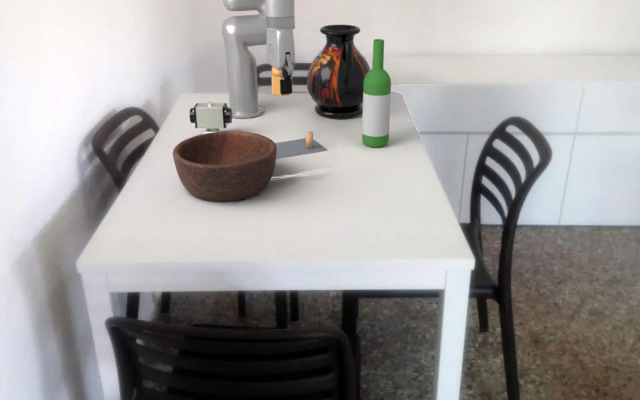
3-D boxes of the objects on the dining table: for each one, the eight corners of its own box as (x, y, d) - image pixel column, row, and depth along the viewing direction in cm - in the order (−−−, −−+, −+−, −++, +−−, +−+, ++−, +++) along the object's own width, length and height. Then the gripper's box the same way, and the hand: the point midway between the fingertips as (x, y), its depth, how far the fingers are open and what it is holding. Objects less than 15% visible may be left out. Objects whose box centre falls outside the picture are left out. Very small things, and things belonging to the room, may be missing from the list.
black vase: (299, 106, 221) (298, 23, 209) (358, 101, 227) (359, 20, 215) (318, 125, 202) (317, 35, 191) (381, 119, 208) (384, 31, 196)
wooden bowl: (180, 213, 146) (176, 171, 141) (173, 172, 168) (169, 135, 163) (287, 200, 152) (286, 160, 147) (267, 163, 174) (265, 126, 169)
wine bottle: (373, 150, 182) (377, 43, 169) (356, 143, 187) (358, 39, 175) (394, 144, 186) (399, 40, 173) (376, 137, 192) (380, 36, 179)
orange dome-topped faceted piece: (270, 91, 176) (269, 66, 173) (287, 89, 178) (287, 64, 175) (276, 96, 171) (275, 70, 168) (294, 94, 173) (294, 68, 170)
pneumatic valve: (231, 143, 187) (229, 103, 182) (191, 143, 187) (188, 103, 182) (234, 137, 192) (231, 98, 187) (195, 137, 192) (192, 98, 187)
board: (253, 150, 182) (252, 131, 180) (311, 141, 189) (310, 122, 186) (267, 164, 172) (267, 144, 170) (328, 154, 179) (328, 135, 177)
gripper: (256, 19, 172) (259, 85, 180) (278, 29, 158) (280, 100, 166) (282, 17, 175) (284, 82, 183) (306, 26, 161) (307, 97, 168)
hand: (282, 90), depth 174 cm, fingers closed on orange dome-topped faceted piece, 5 cm apart
